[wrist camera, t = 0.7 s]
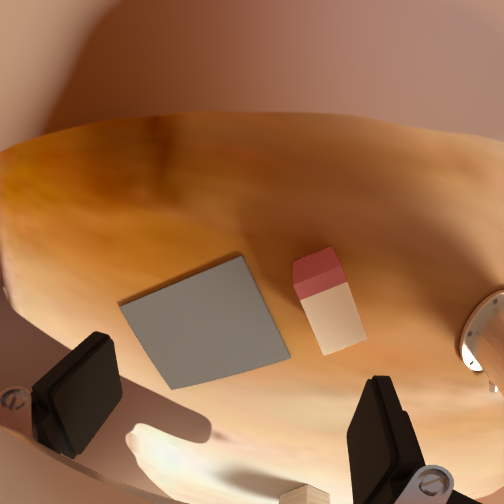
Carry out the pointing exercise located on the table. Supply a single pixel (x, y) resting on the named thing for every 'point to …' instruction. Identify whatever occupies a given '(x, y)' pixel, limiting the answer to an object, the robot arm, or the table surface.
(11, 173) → the table surface
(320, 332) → the card box
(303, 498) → the supplement box
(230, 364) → the mat
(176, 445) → the table surface
